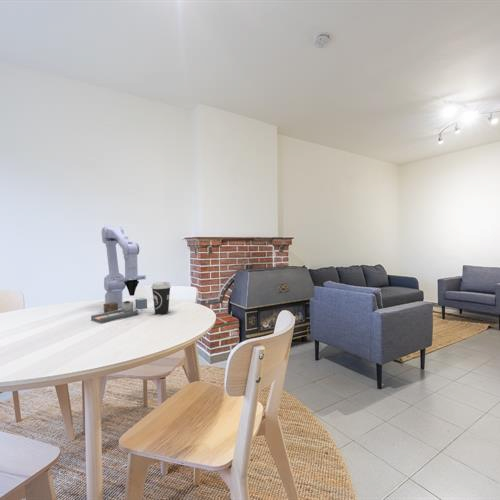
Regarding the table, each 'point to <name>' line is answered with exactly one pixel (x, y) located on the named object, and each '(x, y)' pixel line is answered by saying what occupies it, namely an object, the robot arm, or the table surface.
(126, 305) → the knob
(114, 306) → the walnut block
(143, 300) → the slate-blue block
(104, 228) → the robot arm
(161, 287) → the coffee cup
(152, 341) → the table surface
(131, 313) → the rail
